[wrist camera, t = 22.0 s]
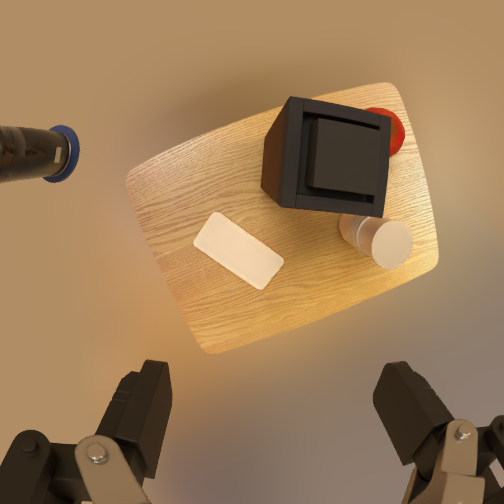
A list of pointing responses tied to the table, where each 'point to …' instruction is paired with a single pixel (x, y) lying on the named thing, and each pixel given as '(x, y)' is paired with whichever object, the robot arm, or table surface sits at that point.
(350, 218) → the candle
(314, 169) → the dark brown square block
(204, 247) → the smartphone
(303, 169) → the brown square canister
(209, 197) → the table surface
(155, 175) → the table surface
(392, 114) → the apple
